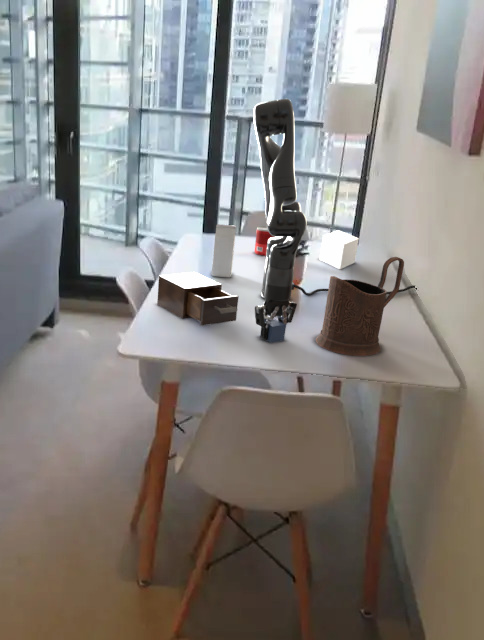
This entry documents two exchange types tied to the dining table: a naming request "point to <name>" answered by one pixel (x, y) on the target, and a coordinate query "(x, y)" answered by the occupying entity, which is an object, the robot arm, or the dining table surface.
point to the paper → (339, 249)
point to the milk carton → (223, 250)
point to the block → (276, 331)
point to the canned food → (262, 240)
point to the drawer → (211, 306)
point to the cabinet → (181, 290)
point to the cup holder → (356, 314)
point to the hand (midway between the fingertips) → (272, 337)
